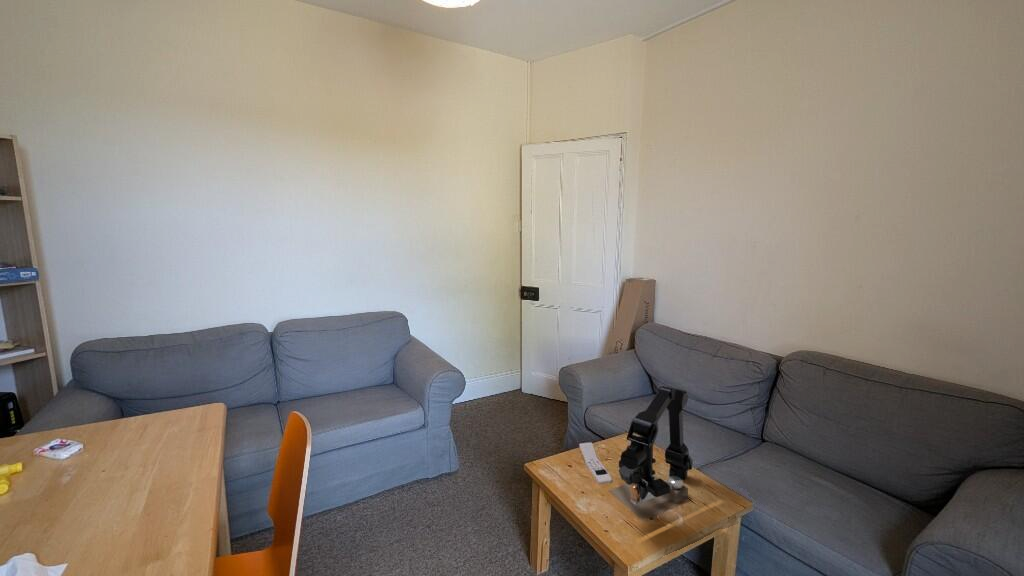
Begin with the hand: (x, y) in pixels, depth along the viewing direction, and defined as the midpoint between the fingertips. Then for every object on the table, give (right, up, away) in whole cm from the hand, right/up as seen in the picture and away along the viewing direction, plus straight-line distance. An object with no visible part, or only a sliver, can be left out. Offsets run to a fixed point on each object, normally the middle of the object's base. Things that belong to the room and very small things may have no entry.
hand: (642, 498), depth 137 cm
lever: (+7, -2, +8) cm, 11 cm away
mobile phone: (-9, -5, +32) cm, 33 cm away
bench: (+6, -7, +13) cm, 16 cm away
